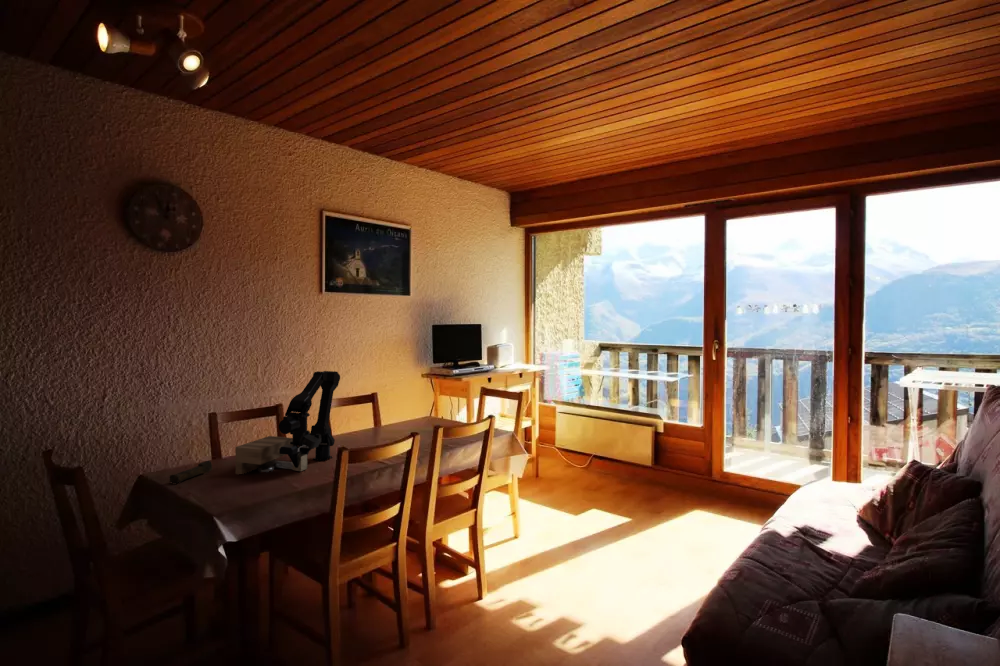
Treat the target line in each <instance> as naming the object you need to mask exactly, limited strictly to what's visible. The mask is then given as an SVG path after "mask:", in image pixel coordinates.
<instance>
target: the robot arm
mask: <svg viewBox="0 0 1000 666" xmlns="http://www.w3.org/2000/svg"><path fill="white" fill-rule="evenodd" d="M340 380H341V375H340V374H339V372H338V371H335V370H334V371H330V370H323V371H319V370H318V371H317V370H316V371H314V372H313V374H312V377H311V378H310V380H309V381H308V382H307V383H306V385H305V386H304V388H303V389H302V391H301V392H299V393H298V394H296V395H295V396H294V397H292V399H291V400H290V401H289V404H288V406H287V408H286V411H285V414H284V416H283V417H282V420H281V421H279V423H278V430H279V432H280V433H282V435H287V434H290V435H292V437H291V438H292V441H291V442H290V444H292V445H285V446H282V447H281V448H280V449H279V454H286V456H287V455H288V457H289V459H290V462H292V463H293V465H294V466H295V468H298V463H299V455H300V454H307V457H308V455H309V454H310V451H311V450H314V451H315V457H313V458H312V460H313V459H316V460H315V461H320V460H326V461H328V460H330V459H329V458H331V459H333V458H332V456H333V455H331V447H334V445H335V438H334V436H333V435H332V428H331V426H330V424H329V421H330V416H331V409H332V404H333V403H332V402H333V397H334V392H335V390H336V389H337V388H338V387H339V384H340ZM320 388H321V395H320V401H319V407H318V414H317V420H316V423H315V424H314V425H311V427H310V430H308V417H310V415H311V414H310V413H309V411H310V408H311V407H312V406H313V403H312V401H313V398H314V397H315V394H316V393H317V392H318V390H319V389H320ZM327 459H328V460H327Z"/></svg>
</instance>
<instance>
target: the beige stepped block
mask: <svg viewBox="0 0 1000 666" xmlns="http://www.w3.org/2000/svg"><path fill="white" fill-rule="evenodd" d="M291 441H292V437H284V436H275V435H268V436H265V437H262V438H259V439H256V440H253V441H250V442H247V443H243V444H240V445H238V446H237V445H236V446H235V453H234V454H235V475H239V474H243V475H245V474H248V473H250V472H253V471H255V470H258V469H257V468H259V467H261V466H264V463H266V462H269V461H271V460H276V459H278V458H281V457H284V456H287V454H279V449H280V448H281V447H282V446H285V445H292V444H290V442H291ZM252 470H253V471H252ZM249 471H250V472H249ZM247 472H248V473H247ZM244 473H245V474H244Z"/></svg>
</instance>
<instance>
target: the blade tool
mask: <svg viewBox="0 0 1000 666" xmlns="http://www.w3.org/2000/svg"><path fill="white" fill-rule="evenodd" d="M267 465H271V466H274V468H278V469H287V470H292V471H293V472H294V471H297V472H302V471H305V470H307V469H308V456H307V454H300V455H299V463H298V468H295V466H294V465H293V463H292V461H286V460H276V459H275V460H271V461H269V462H266V463H264V466H267Z"/></svg>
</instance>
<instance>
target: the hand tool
mask: <svg viewBox="0 0 1000 666" xmlns="http://www.w3.org/2000/svg"><path fill="white" fill-rule="evenodd" d="M212 470H213V465H212V462H211V461H210V460H205V461H202V462H199V463H198V464H197V466H194V467H192V468H190V469H187V470H183V471H180V472H177V473H174V474H170V475H169V483H170V482H172V483H178V482H181V483H182V482H184V481H187V480H189V479H192V478H194V477H197V476H198V475H205V474H204V473H206V474H208V473H209V471H210V472H211V471H212ZM207 472H208V473H207ZM178 484H179V483H178Z"/></svg>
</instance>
